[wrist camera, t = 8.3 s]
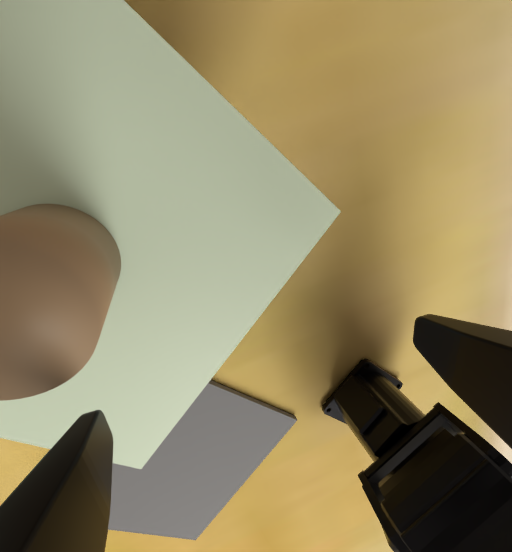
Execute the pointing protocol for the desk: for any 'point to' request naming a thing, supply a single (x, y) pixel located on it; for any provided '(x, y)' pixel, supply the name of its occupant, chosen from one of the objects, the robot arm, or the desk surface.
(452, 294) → the desk surface
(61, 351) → the lid
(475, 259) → the desk surface
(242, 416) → the mat
